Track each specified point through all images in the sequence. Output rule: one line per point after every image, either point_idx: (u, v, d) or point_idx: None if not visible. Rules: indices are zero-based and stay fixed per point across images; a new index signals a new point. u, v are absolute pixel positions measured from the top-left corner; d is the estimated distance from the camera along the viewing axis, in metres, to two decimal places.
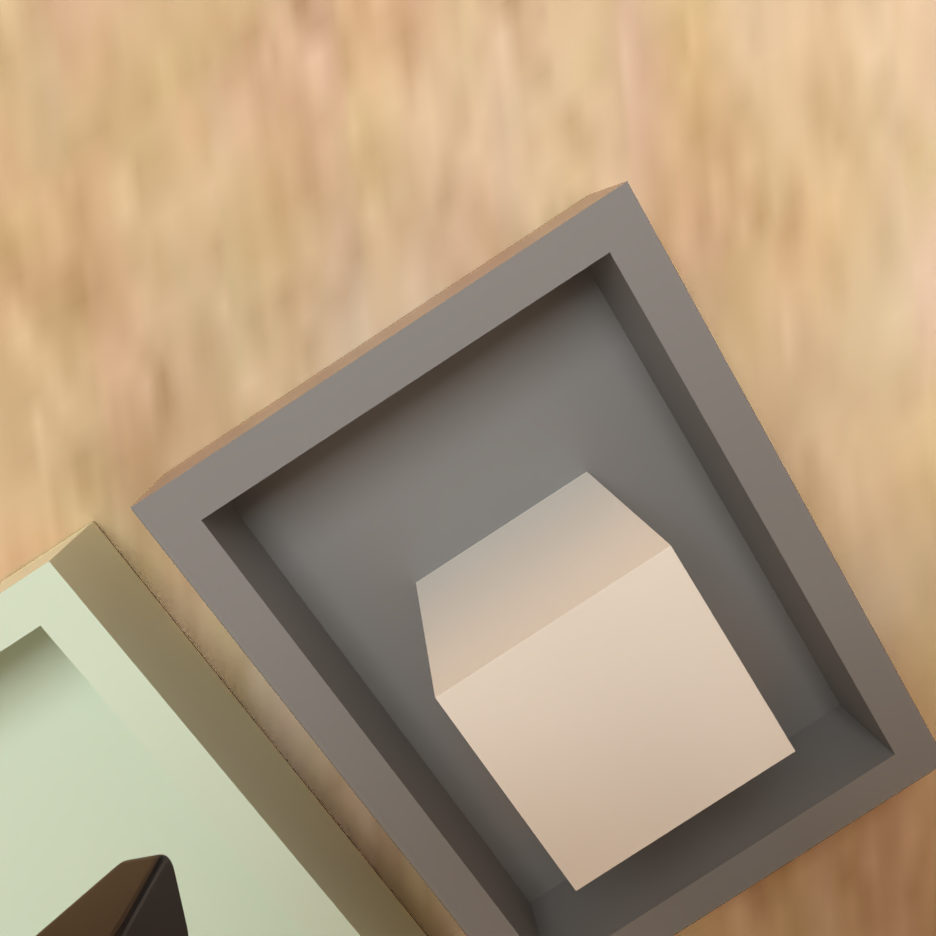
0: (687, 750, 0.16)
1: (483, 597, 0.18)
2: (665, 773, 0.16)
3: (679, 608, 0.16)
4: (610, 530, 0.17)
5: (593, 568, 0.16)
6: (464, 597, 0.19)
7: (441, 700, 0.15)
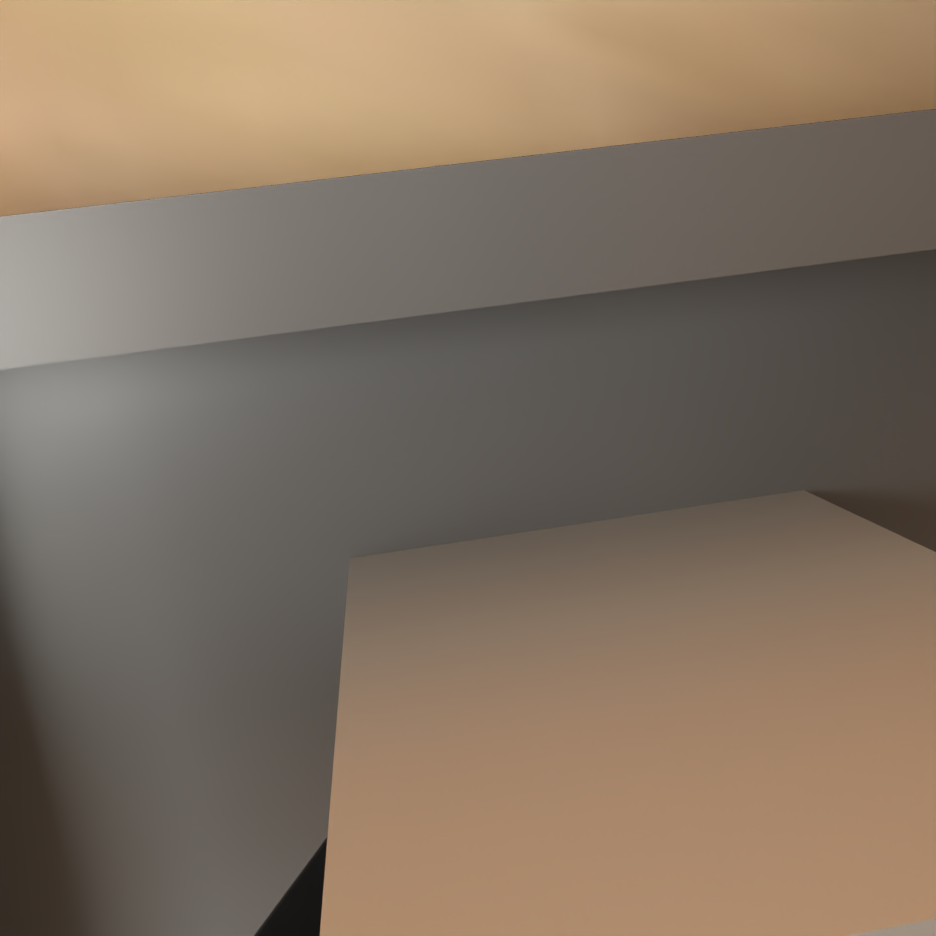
0: None
1: None
2: None
3: None
4: None
5: None
6: None
7: None
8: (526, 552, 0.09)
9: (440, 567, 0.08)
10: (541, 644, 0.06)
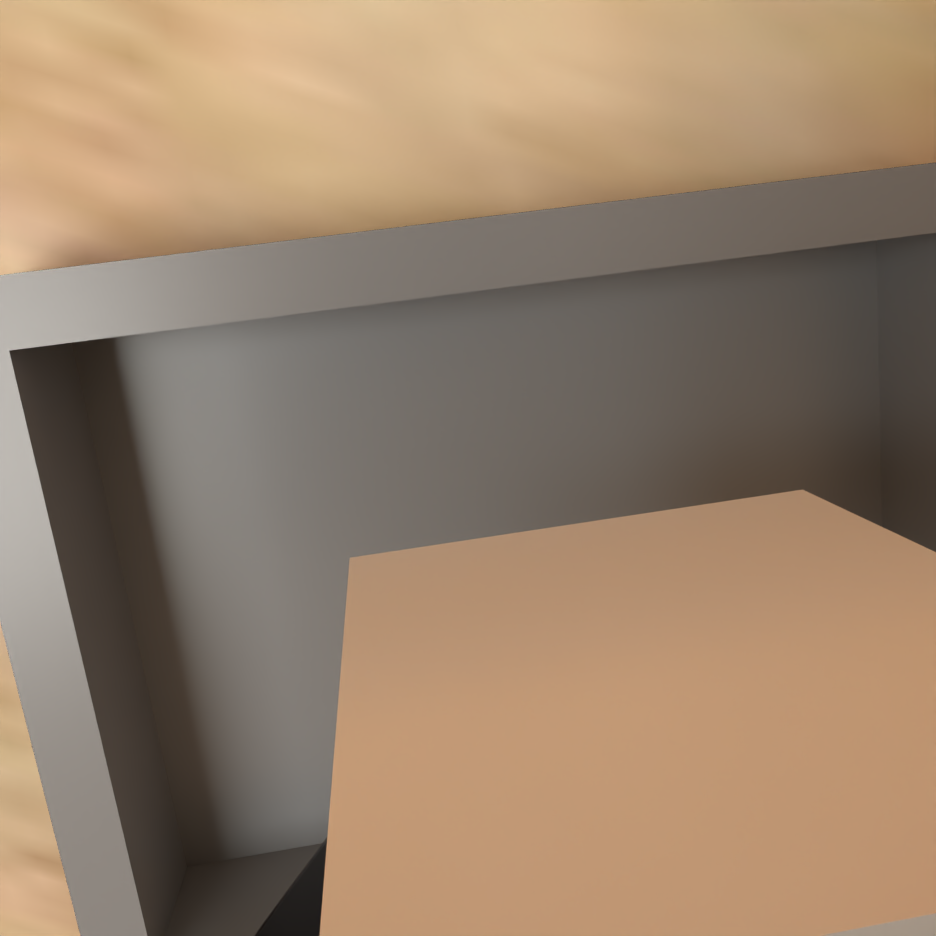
0: None
1: None
2: None
3: None
4: None
5: None
6: None
7: None
8: (526, 552, 0.09)
9: (439, 567, 0.09)
10: (541, 644, 0.07)
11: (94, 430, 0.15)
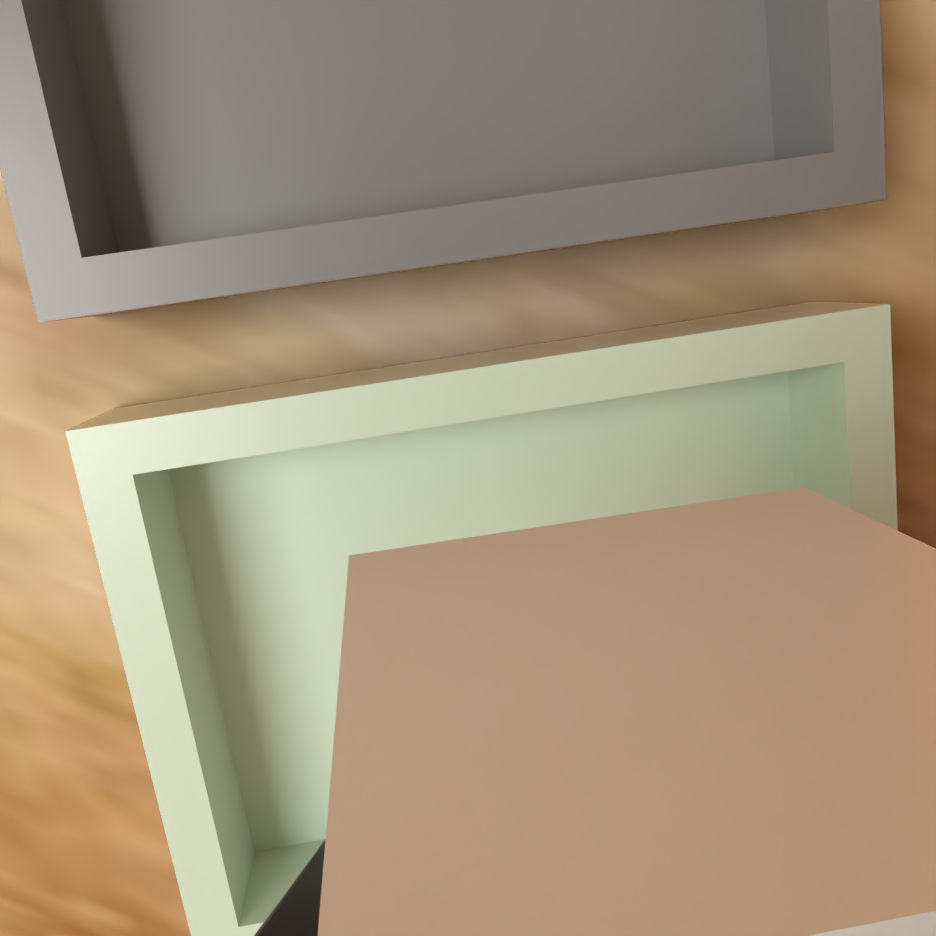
0: None
1: None
2: None
3: None
4: None
5: None
6: None
7: None
8: (526, 549, 0.09)
9: (439, 564, 0.08)
10: (540, 641, 0.06)
11: None
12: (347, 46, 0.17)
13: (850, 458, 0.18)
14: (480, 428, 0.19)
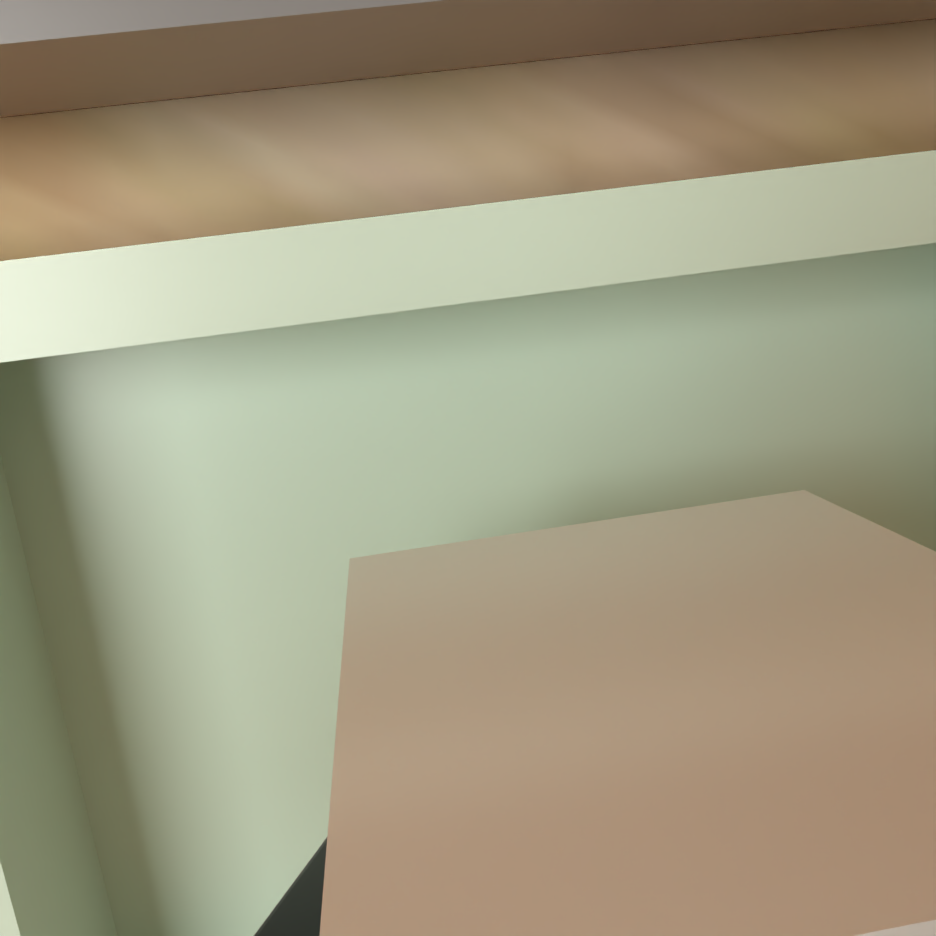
0: None
1: None
2: None
3: None
4: None
5: None
6: None
7: None
8: (526, 553, 0.09)
9: (440, 568, 0.08)
10: (541, 643, 0.06)
11: None
12: None
13: None
14: (500, 339, 0.12)
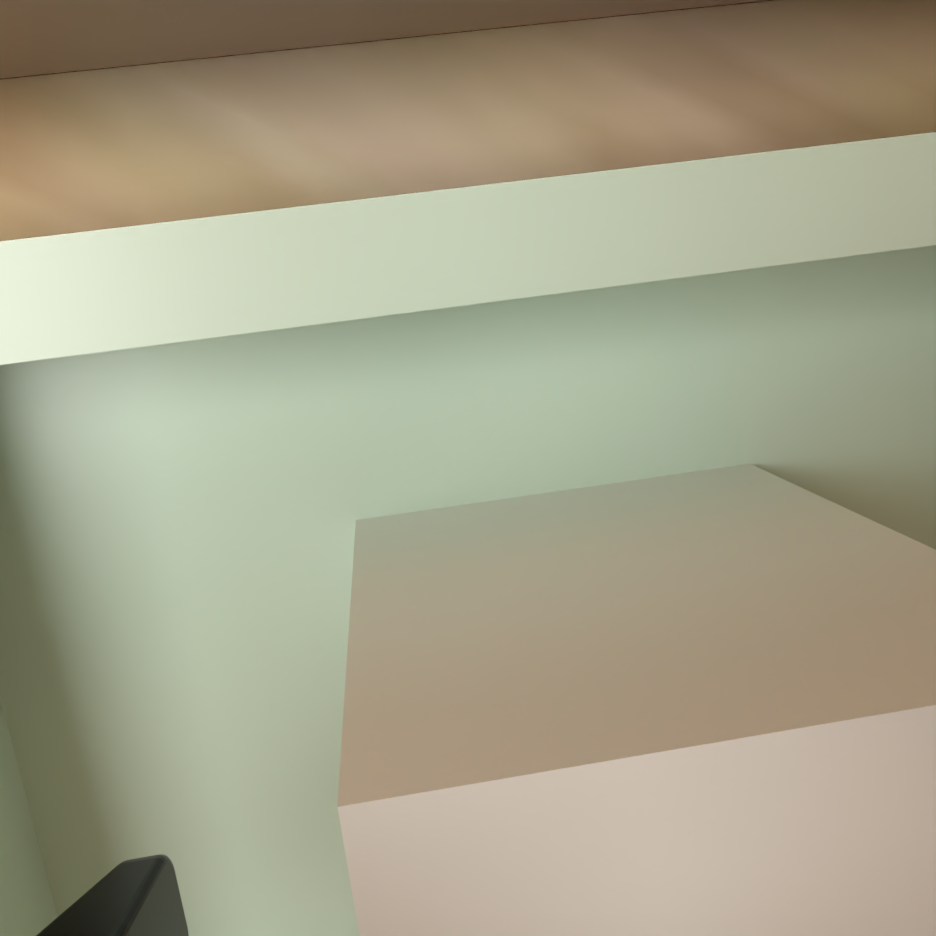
0: None
1: None
2: None
3: (548, 846, 0.05)
4: None
5: None
6: None
7: None
8: (507, 514, 0.10)
9: (433, 526, 0.10)
10: (515, 577, 0.08)
11: None
12: None
13: None
14: (524, 344, 0.10)
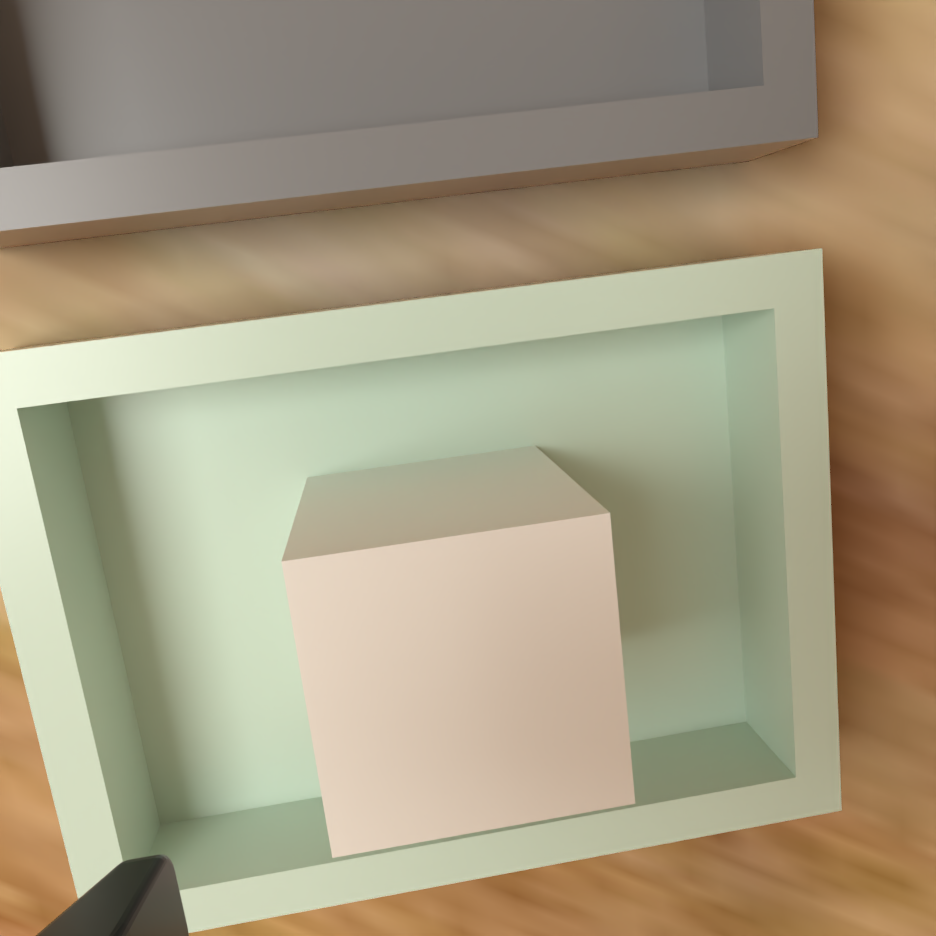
0: (538, 631, 0.14)
1: None
2: (552, 664, 0.14)
3: (361, 580, 0.13)
4: None
5: None
6: None
7: (337, 854, 0.14)
8: (390, 472, 0.18)
9: (348, 479, 0.18)
10: (379, 497, 0.16)
11: None
12: None
13: (781, 410, 0.17)
14: (401, 378, 0.18)
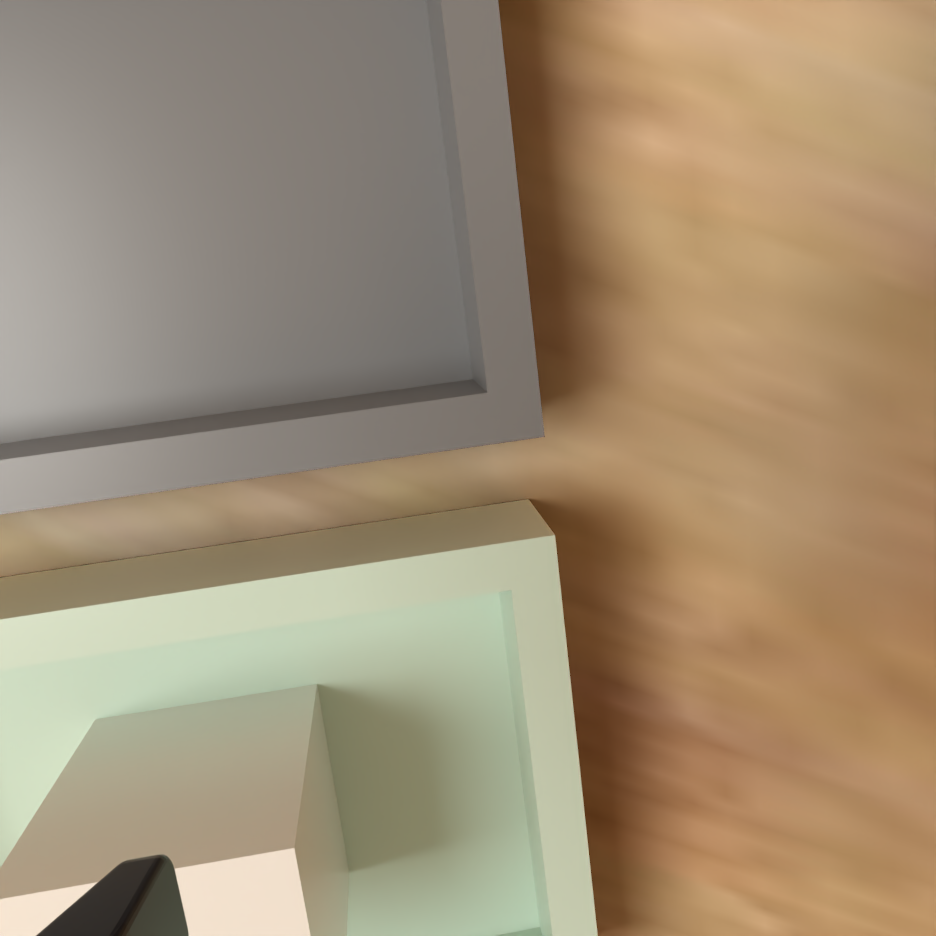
0: None
1: None
2: None
3: (57, 915, 0.14)
4: None
5: None
6: None
7: None
8: (167, 721, 0.19)
9: (126, 729, 0.19)
10: (128, 777, 0.17)
11: None
12: (24, 265, 0.17)
13: (523, 681, 0.18)
14: None
